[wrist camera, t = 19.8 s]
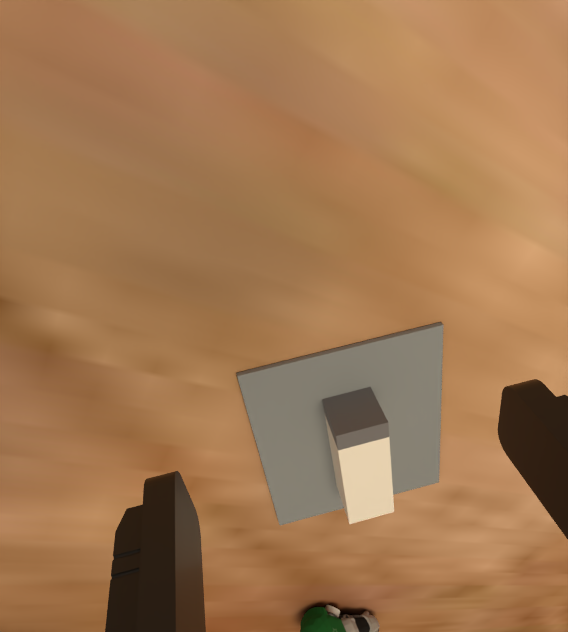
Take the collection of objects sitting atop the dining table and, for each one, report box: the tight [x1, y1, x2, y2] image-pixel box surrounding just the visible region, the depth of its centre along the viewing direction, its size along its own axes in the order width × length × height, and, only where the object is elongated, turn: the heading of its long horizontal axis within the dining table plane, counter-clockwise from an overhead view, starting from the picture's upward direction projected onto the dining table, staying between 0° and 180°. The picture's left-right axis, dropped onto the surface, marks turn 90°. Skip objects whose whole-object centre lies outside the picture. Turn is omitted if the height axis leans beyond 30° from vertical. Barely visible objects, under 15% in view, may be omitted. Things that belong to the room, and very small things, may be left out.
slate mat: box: [237, 322, 443, 525], centre depth 53 cm, size 20×24×1 cm
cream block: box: [322, 387, 394, 524], centre depth 51 cm, size 5×5×14 cm
